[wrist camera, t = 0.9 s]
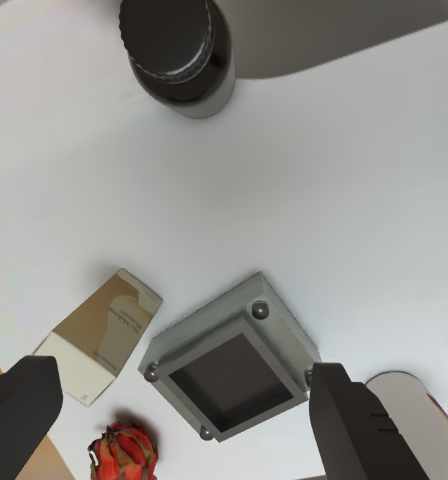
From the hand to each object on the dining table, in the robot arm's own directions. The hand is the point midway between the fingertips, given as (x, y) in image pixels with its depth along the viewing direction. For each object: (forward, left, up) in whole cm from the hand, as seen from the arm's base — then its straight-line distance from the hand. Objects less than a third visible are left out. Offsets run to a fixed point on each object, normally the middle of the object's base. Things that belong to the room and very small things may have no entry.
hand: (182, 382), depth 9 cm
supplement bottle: (-6, -12, -22) cm, 26 cm away
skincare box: (+14, +1, -22) cm, 26 cm away
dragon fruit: (+29, +18, -22) cm, 41 cm away
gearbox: (+8, +13, -22) cm, 26 cm away
